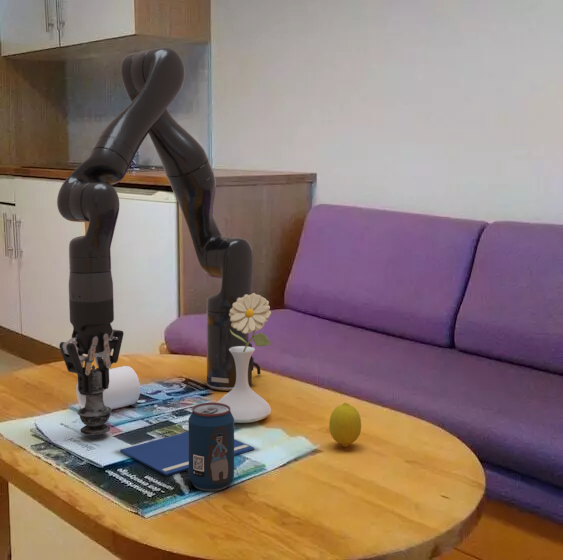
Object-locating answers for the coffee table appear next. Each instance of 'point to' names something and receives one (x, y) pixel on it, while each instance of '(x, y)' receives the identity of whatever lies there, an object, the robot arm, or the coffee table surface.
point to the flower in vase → (247, 359)
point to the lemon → (345, 424)
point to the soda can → (211, 446)
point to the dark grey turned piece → (95, 408)
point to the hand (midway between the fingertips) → (94, 391)
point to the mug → (118, 388)
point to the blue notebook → (170, 453)
